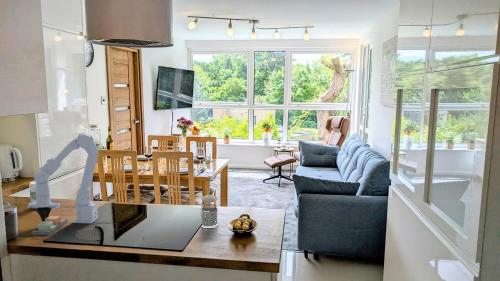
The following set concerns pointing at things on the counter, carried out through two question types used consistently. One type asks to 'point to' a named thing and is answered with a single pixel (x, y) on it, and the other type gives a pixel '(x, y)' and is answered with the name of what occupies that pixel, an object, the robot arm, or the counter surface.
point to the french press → (209, 209)
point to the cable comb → (51, 228)
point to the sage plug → (45, 226)
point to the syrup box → (33, 192)
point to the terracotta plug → (53, 219)
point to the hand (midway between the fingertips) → (45, 222)
